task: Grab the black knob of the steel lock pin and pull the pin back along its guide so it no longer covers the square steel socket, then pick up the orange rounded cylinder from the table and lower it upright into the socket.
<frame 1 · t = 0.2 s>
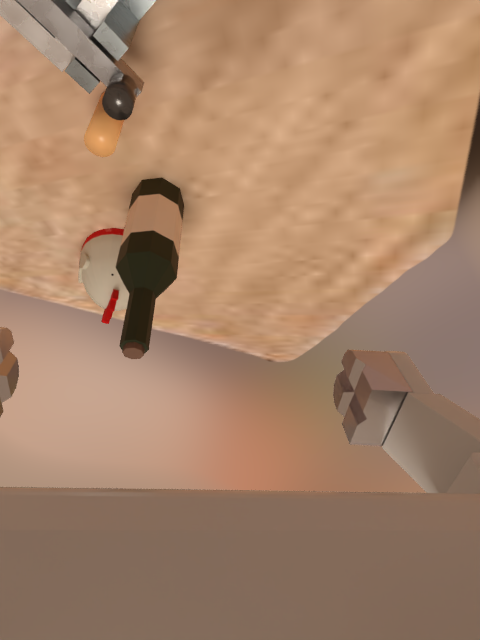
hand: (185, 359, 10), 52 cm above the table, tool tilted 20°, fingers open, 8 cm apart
orange rounded cylinder: (113, 103, 55), on the table
wine bottle: (158, 198, 68), on the table
kitchen timer: (121, 256, 78), on the table
pin: (76, 47, 41), point 11 cm above the table, slide at 0.0 cm
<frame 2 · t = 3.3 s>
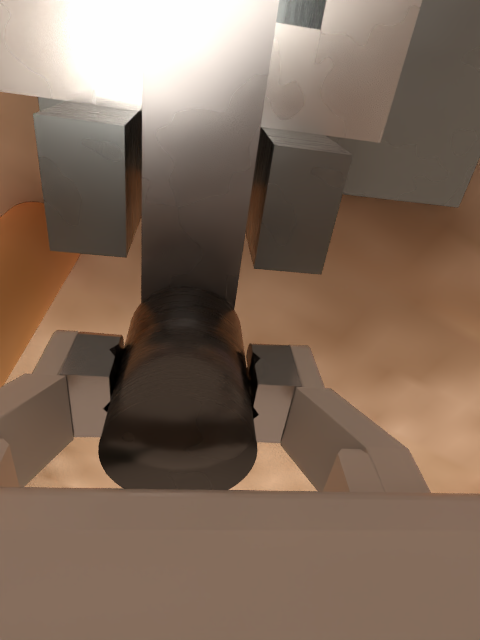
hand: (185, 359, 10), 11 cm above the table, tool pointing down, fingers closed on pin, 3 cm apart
orange rounded cylinder: (41, 239, 20), on the table
pin: (203, 117, 8), point 11 cm above the table, slide at 0.0 cm, touching gripper
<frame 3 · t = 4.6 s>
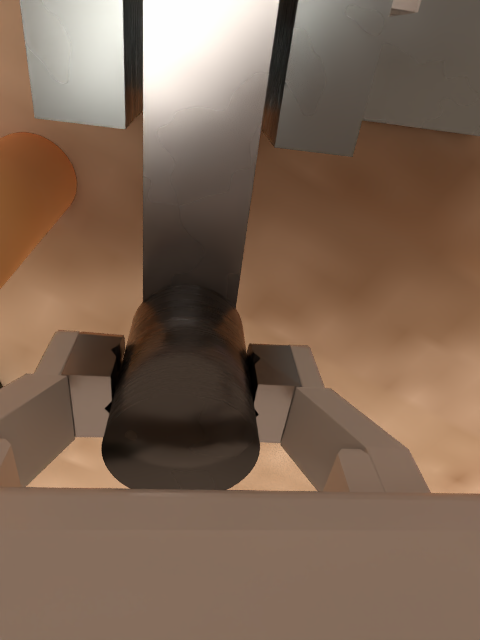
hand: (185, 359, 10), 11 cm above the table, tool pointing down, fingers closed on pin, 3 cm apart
orange rounded cylinder: (33, 177, 18), on the table
pin: (204, 115, 8), point 11 cm above the table, slide at 2.9 cm, touching gripper
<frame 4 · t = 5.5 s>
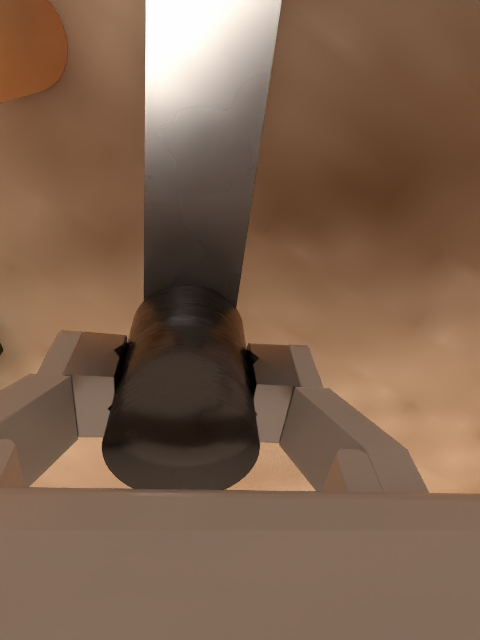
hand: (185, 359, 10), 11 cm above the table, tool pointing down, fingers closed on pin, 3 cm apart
orange rounded cylinder: (16, 37, 15), on the table
pin: (206, 115, 8), point 11 cm above the table, slide at 7.9 cm, touching gripper
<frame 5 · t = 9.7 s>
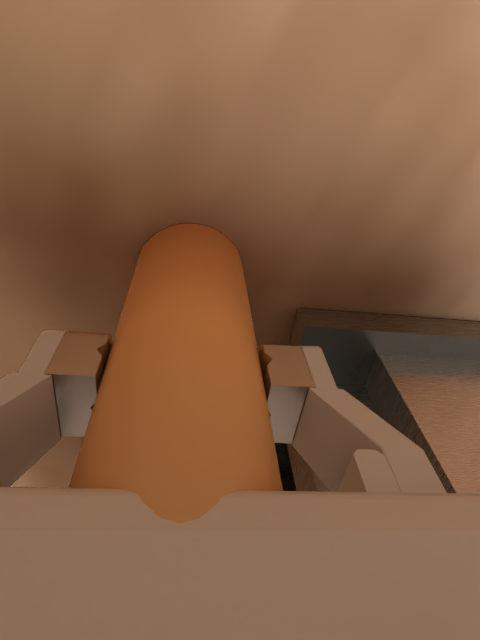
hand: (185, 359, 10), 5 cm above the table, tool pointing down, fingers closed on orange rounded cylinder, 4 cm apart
orange rounded cylinder: (190, 273, 14), on the table, touching gripper
mount: (435, 428, 20), on the table
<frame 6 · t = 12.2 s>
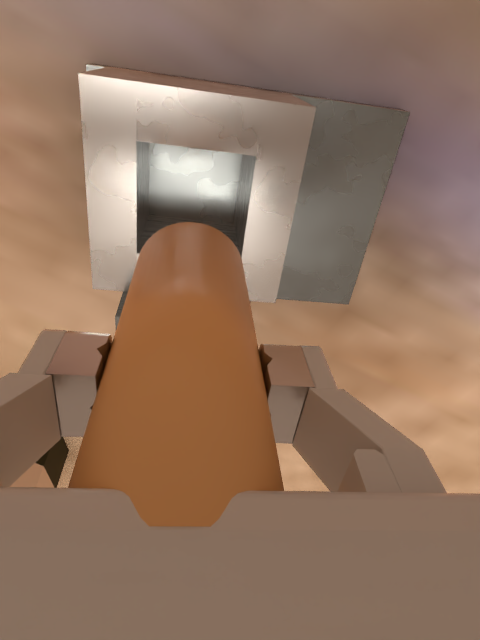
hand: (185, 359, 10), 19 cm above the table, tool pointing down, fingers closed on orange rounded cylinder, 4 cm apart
orange rounded cylinder: (190, 272, 14), point 14 cm above the table, touching gripper
wine bottle: (22, 441, 38), on the table
mount: (195, 171, 26), on the table
when the fingers open (9 cm above the table, at t = 14.7 s): orange rounded cylinder drops 3 cm, resting on mount.
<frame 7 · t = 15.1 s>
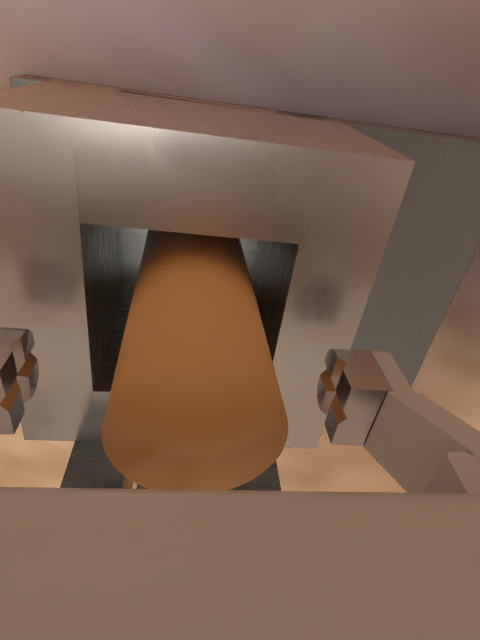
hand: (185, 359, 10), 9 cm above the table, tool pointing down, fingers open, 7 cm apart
orange rounded cylinder: (193, 241, 16), point 1 cm above the table, touching mount
mount: (191, 232, 17), on the table
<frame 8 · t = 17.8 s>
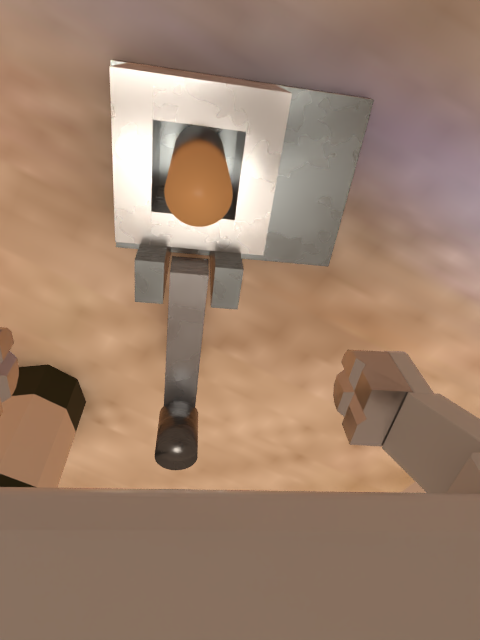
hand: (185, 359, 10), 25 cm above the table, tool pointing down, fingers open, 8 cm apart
orange rounded cylinder: (199, 151, 30), point 1 cm above the table, touching mount
wine bottle: (45, 393, 44), on the table
mount: (197, 149, 31), on the table
pin: (182, 367, 29), point 11 cm above the table, slide at 8.0 cm
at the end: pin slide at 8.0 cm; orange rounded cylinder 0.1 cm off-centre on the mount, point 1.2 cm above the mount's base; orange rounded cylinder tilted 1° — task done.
